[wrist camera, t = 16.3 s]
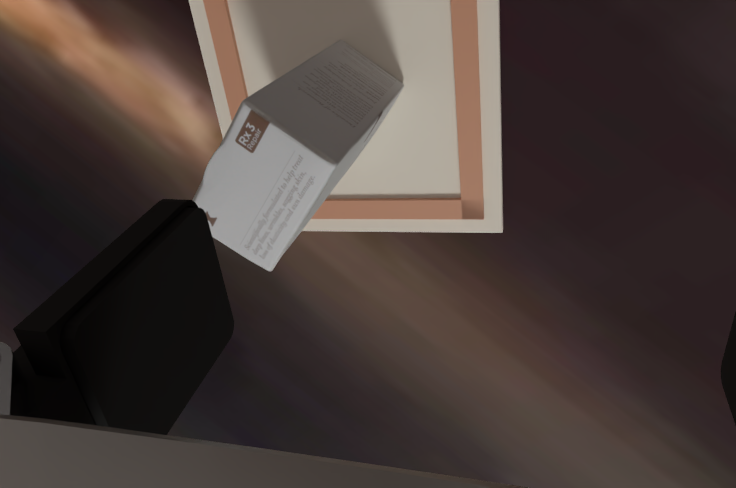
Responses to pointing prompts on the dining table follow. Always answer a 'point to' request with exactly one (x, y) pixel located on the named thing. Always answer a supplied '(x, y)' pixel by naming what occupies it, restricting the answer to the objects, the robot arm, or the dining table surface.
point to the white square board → (406, 117)
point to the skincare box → (292, 150)
